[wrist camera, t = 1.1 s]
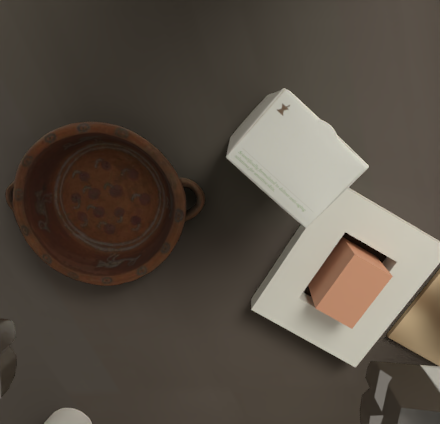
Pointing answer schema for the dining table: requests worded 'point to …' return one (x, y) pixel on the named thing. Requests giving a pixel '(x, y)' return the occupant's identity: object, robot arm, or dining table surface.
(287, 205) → the skincare box
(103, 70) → the dining table surface
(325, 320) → the pocket board
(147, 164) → the dish
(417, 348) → the cork pad
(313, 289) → the part
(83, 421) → the foam cup
